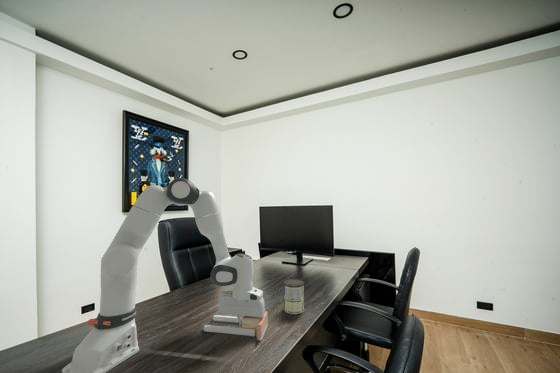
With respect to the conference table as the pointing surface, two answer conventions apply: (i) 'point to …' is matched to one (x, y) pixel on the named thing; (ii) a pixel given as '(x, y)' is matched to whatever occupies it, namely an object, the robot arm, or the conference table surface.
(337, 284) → the conference table surface
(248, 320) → the block
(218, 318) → the rail
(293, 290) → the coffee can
